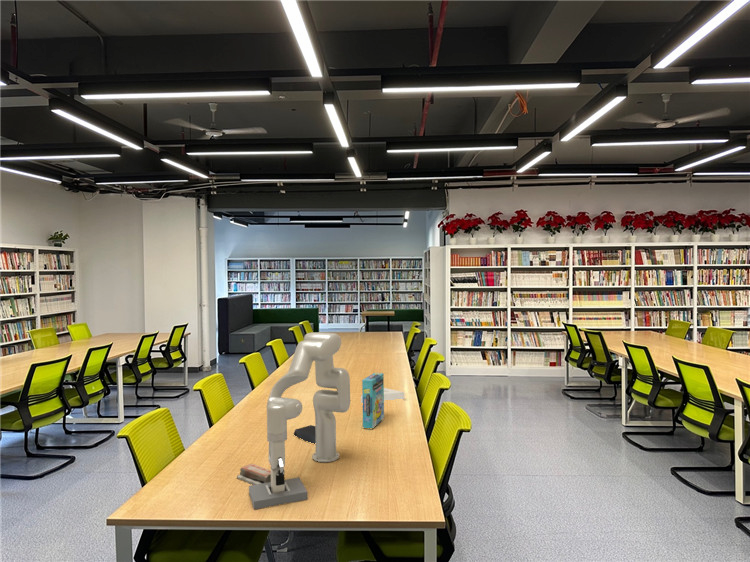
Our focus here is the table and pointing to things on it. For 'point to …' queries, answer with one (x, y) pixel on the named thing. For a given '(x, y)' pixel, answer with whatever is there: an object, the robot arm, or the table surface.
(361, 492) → the table surface
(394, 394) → the triangle block
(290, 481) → the plate
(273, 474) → the charger plug
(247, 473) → the packaged product
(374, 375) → the game box
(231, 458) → the table surface
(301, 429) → the black angular slab
